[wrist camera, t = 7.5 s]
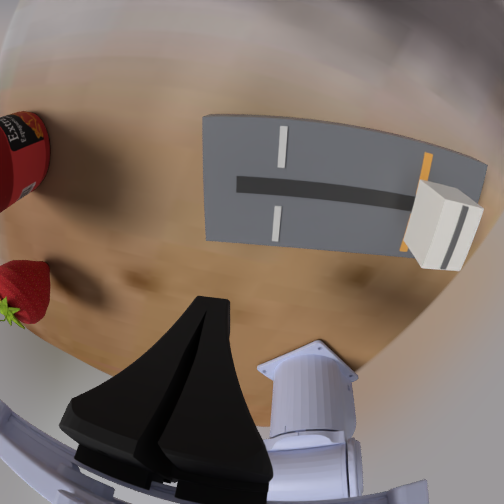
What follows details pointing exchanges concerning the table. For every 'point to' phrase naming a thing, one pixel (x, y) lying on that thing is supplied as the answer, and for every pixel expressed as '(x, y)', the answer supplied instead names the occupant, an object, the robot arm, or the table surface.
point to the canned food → (22, 156)
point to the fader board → (320, 183)
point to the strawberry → (24, 291)
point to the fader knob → (441, 226)
